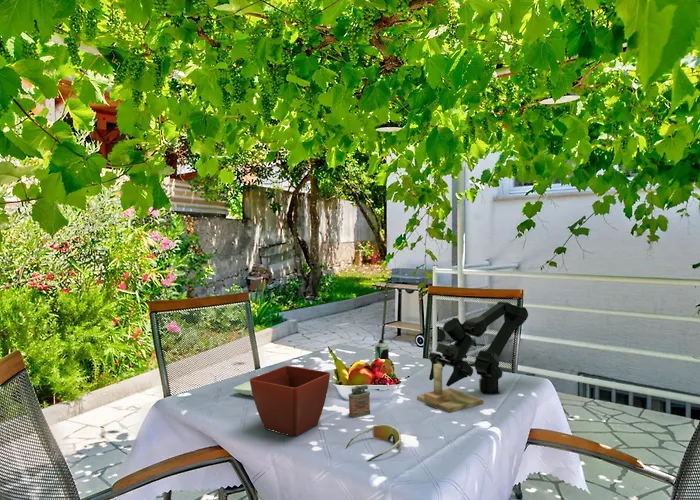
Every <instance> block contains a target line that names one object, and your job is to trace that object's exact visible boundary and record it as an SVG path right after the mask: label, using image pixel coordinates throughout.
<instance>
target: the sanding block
mask: <svg viewBox="0 0 700 500" xmlns="http://www.w3.org/2000/svg"><path fill="white" fill-rule="evenodd" d="M442 368H443V367H442V365H441V364H434V379H433V391H429V392H424V393H423V394H424V400H425V401H427V402H430V403H432V404H435V405H437V404H441V403H445V402H449V401H452V394H451V393H449V392H446V391H443V390H444V389H443V370H442Z"/></svg>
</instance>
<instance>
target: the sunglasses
mask: <svg viewBox="0 0 700 500" xmlns="http://www.w3.org/2000/svg"><path fill="white" fill-rule="evenodd" d="M369 432H371V433H372V438H373V439H374V440H375V439H379V440H386V441H387V442H391V440H392V443H393V445H392V446H391V447H390V448H388V449H386V450H385V451H382V452H379V453H377V454H375V456H371V457H370V458H368V459H367V460H365V461H367V462H372V461H373V460H376V458H378V457H380V456H383V455H386V454H388V452H391V450H394V449H395V448H397V447H399V448H398V452H401V449H402V436H401V432H400V430H399V429H398V428H397V427H395V426H393V425H391V424H386V423H380V424H375V425H373V426H371V427H369V428H368V427H367V428H366V429H364V430H363V431H361V432H359V433H357V434H356V435H354V436H352V437H351V438H350V439H349V441H348V442H347V443H346V445H345V447H344V450H346V449H347V448H348V447H349V445H350V444H351V443H352V441H354V439H357V438H358V437H359V436H361V435H363V434H366V433H369Z"/></svg>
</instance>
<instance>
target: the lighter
mask: <svg viewBox="0 0 700 500" xmlns="http://www.w3.org/2000/svg"><path fill="white" fill-rule="evenodd" d="M368 389H369V386H368V384H363V385H360V386H359V385H355V387H351V393H348V395H347V396H348V417H349V418H361V417H366V416H369V415H370V414H371V410H370V409H371V408H370V406H371V405H370V403H371V401H370V398H371V397H370V395H371V392H370V391H369V390H368Z"/></svg>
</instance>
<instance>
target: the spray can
mask: <svg viewBox="0 0 700 500" xmlns="http://www.w3.org/2000/svg"><path fill="white" fill-rule="evenodd" d="M378 358H380V359H388V360H389V359H390V357H389V344H387V343H386V342H385V340H384V339H382V338H381V339H379V341H378V342H377V344H375V346H374V361H375V360H376V359H378Z"/></svg>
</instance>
